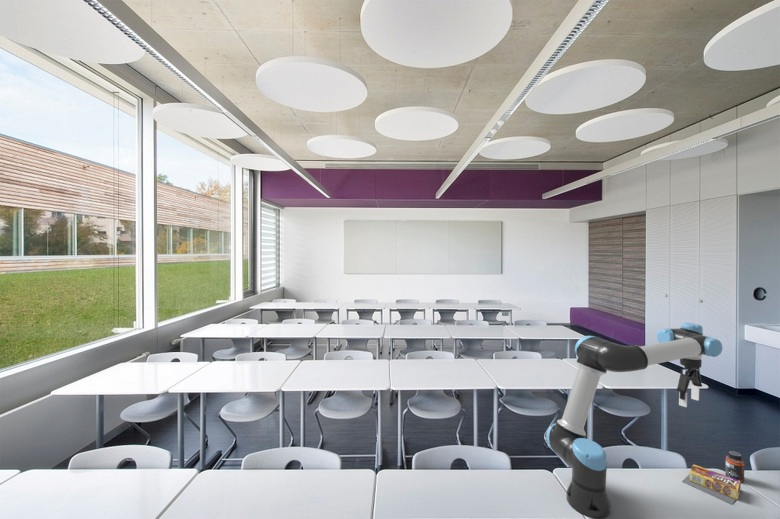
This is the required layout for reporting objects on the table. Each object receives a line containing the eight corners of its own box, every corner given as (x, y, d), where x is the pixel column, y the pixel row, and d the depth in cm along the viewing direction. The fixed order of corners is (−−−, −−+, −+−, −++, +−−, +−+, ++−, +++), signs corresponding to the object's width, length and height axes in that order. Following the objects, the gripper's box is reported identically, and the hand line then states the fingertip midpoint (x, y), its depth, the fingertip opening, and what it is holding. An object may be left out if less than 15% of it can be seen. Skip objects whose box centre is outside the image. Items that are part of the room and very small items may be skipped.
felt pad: (681, 481, 152) (681, 481, 152) (693, 471, 160) (693, 470, 160) (731, 504, 139) (731, 503, 139) (742, 491, 146) (742, 491, 146)
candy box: (689, 481, 152) (738, 500, 141) (689, 471, 152) (738, 489, 140) (693, 473, 158) (740, 490, 146) (693, 463, 158) (740, 480, 146)
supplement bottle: (741, 477, 156) (742, 452, 155) (745, 484, 151) (747, 459, 150) (723, 472, 159) (724, 448, 159) (727, 479, 154) (728, 454, 154)
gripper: (691, 351, 170) (689, 394, 170) (668, 359, 157) (667, 405, 158) (711, 355, 163) (709, 400, 164) (689, 363, 150) (687, 412, 151)
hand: (689, 402), depth 161 cm, fingers open, 13 cm apart
